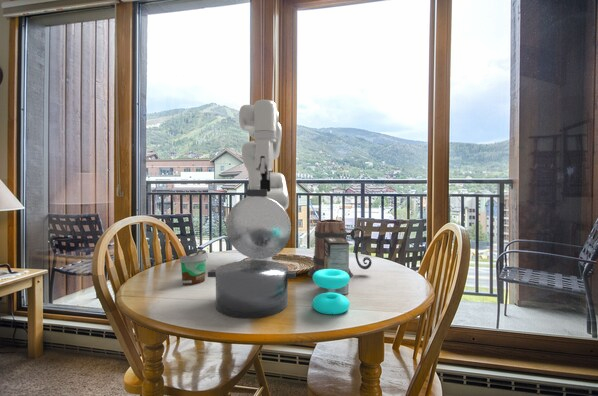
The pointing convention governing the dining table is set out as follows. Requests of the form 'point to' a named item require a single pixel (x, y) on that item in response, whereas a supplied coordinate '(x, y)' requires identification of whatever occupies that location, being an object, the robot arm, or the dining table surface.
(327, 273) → the donuts
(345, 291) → the coffee box
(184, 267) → the food container
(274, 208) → the pot lid
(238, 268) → the cooking pot
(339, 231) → the tankard
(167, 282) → the dining table surface
